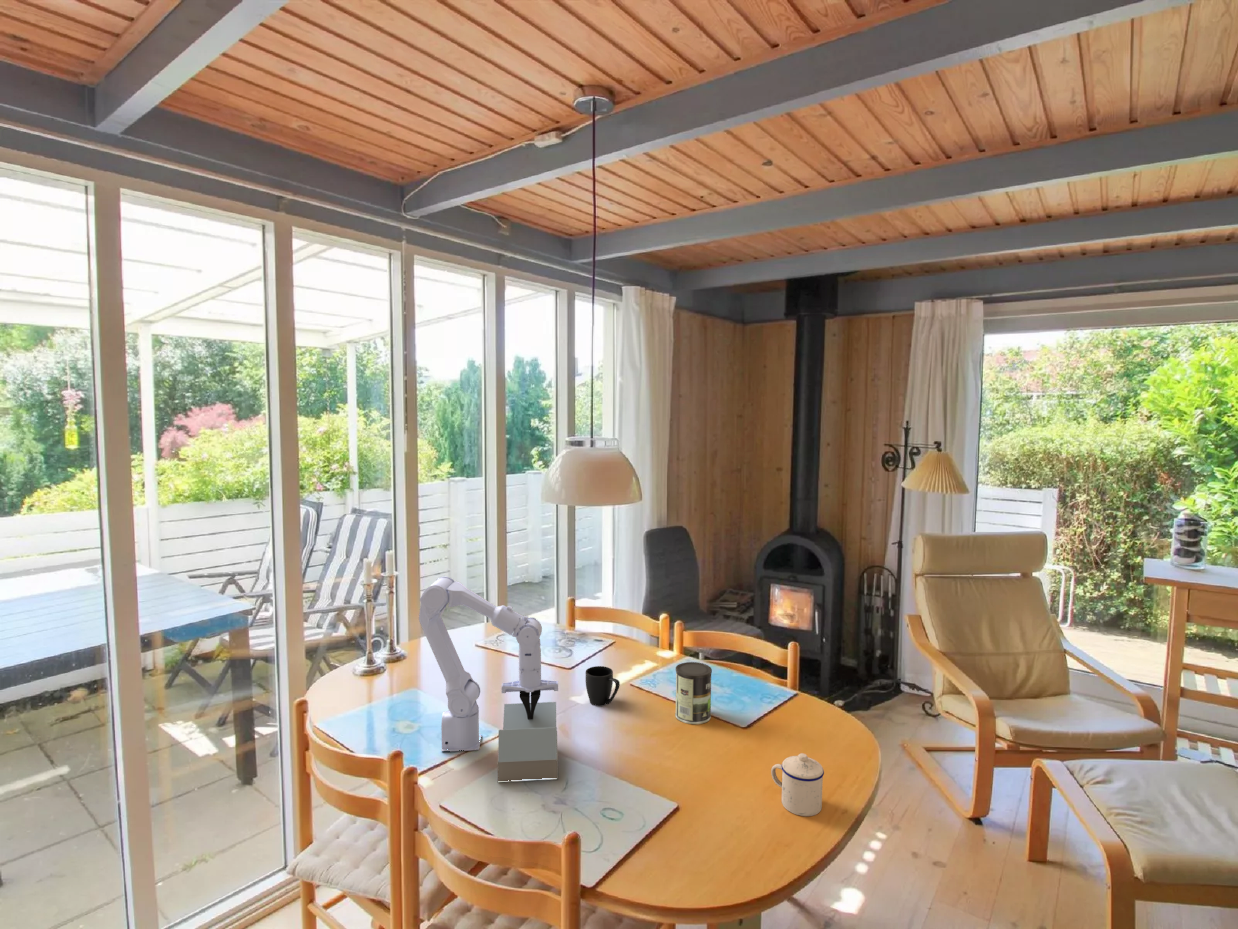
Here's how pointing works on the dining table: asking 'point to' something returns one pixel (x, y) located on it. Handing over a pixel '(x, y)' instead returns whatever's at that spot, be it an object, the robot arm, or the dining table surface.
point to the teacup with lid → (800, 784)
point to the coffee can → (693, 692)
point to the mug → (600, 685)
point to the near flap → (527, 744)
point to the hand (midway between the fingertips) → (530, 717)
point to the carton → (527, 769)
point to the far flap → (518, 718)
